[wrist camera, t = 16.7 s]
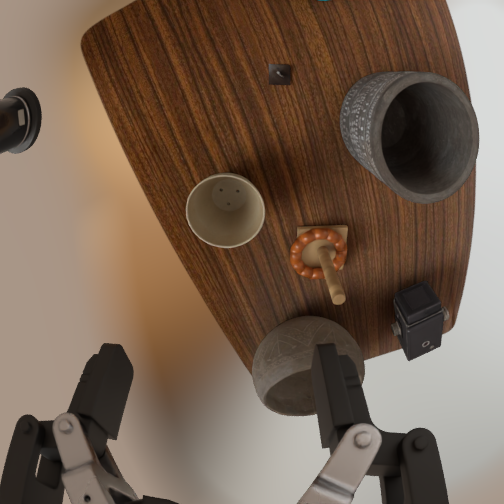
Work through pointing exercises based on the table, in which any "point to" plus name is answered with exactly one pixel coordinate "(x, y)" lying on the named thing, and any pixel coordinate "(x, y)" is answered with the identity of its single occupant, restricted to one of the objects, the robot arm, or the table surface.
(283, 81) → the small square plate
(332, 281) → the stand
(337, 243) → the ring
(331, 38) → the table surface
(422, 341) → the camera
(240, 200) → the flower pot
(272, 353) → the bowl
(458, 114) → the planter
